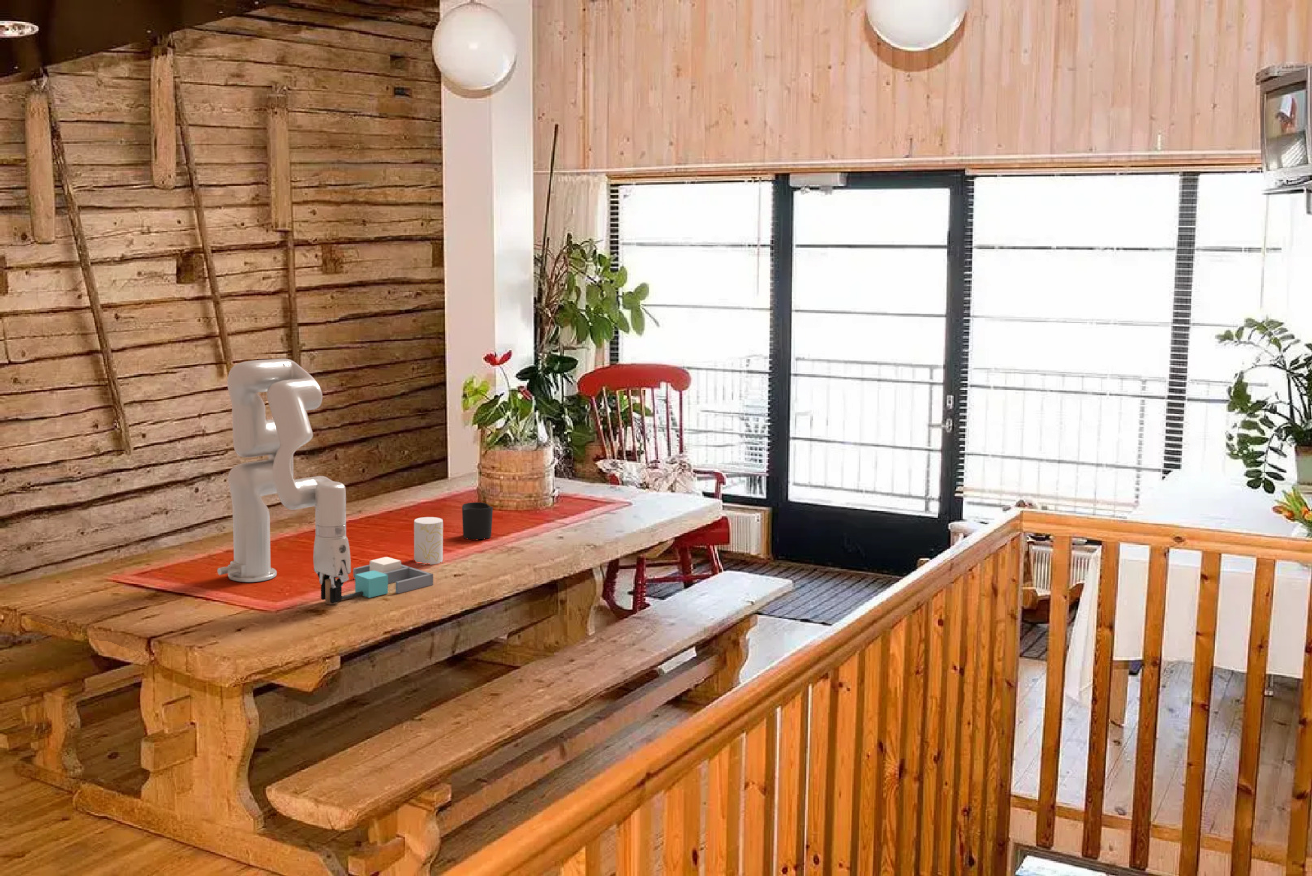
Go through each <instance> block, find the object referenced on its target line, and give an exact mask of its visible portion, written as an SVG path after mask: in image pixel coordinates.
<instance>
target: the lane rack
mask: <svg viewBox="0 0 1312 876" xmlns="http://www.w3.org/2000/svg"><path fill="white" fill-rule="evenodd" d="M352 569H353V571H352V575H353V577H354V578H355V574H360V573H364V572H369V571H370V564H366V565H362V566H358V567H354V568H352ZM383 574H386V575H388V585H389V584H393V583H395V594H402V593H407V592H410V591H413V590H417V589H422V588H426V587H429V586H433V585H434V574H433V573H431V572H428V571H424V570H422V569H418V568H415V567H412V566H408V565H405V564H402V563H401V569H398V570H393V571H389V572H385V573H383ZM353 577H352V578H353Z"/></svg>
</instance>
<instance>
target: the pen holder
mask: <svg viewBox="0 0 1312 876" xmlns="http://www.w3.org/2000/svg"><path fill="white" fill-rule="evenodd" d="M493 509H494V506H490V505H489V504H488V503H486V502H479V501H478V502H467V503H463V504H462V506H461V514H462V515H461V516H462V537H463V538H464V539H466V538H468V539H467V540H470V539H484V538H488V539H490V538H491V537H492V531H493V530H492V527H493Z"/></svg>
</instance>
